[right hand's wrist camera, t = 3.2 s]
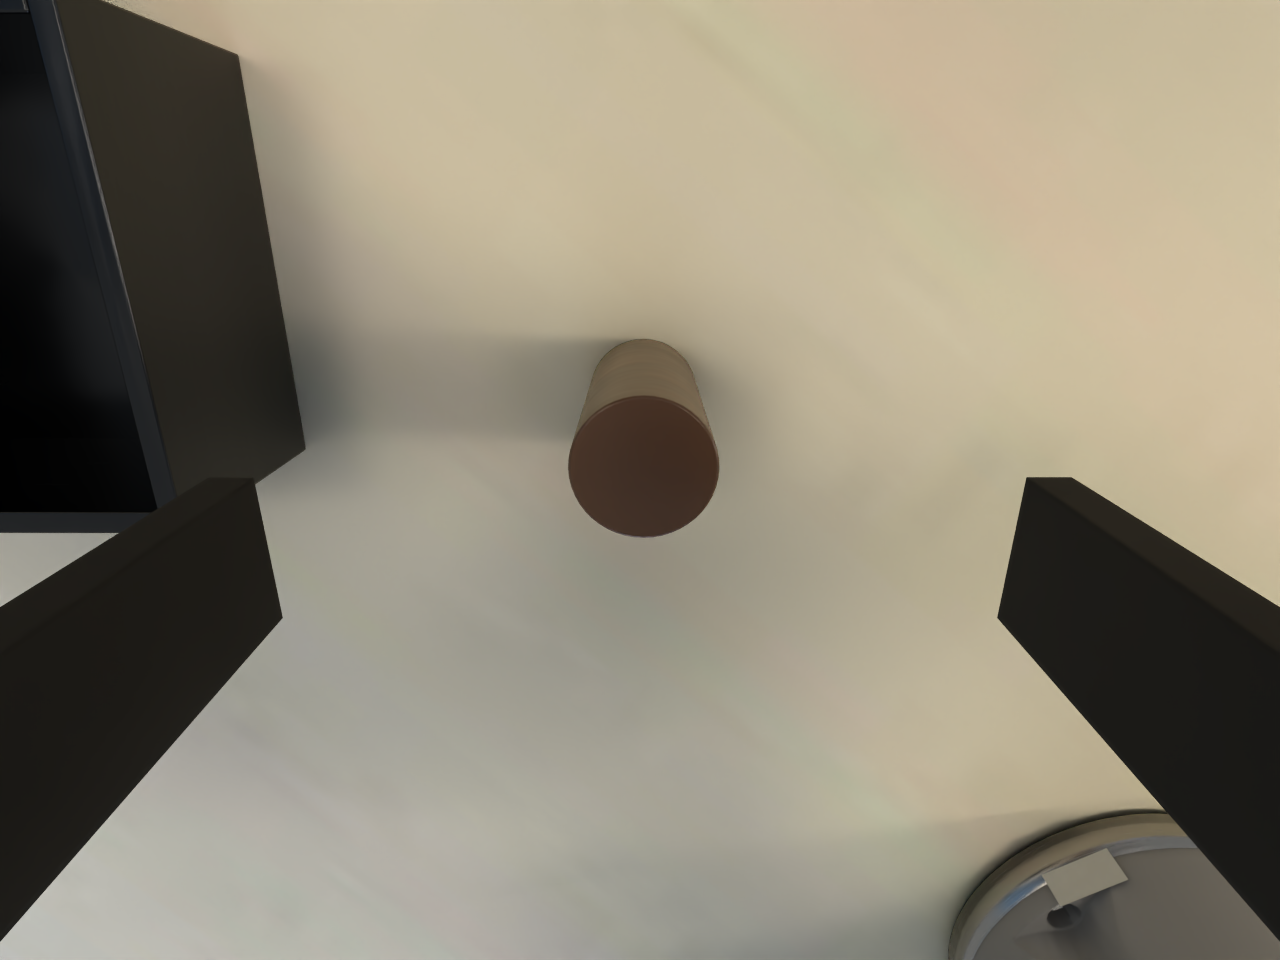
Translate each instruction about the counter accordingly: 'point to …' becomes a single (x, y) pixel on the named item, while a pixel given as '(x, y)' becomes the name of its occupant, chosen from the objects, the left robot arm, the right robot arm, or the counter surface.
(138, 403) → the black box with handle
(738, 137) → the counter surface
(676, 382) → the walnut peg
